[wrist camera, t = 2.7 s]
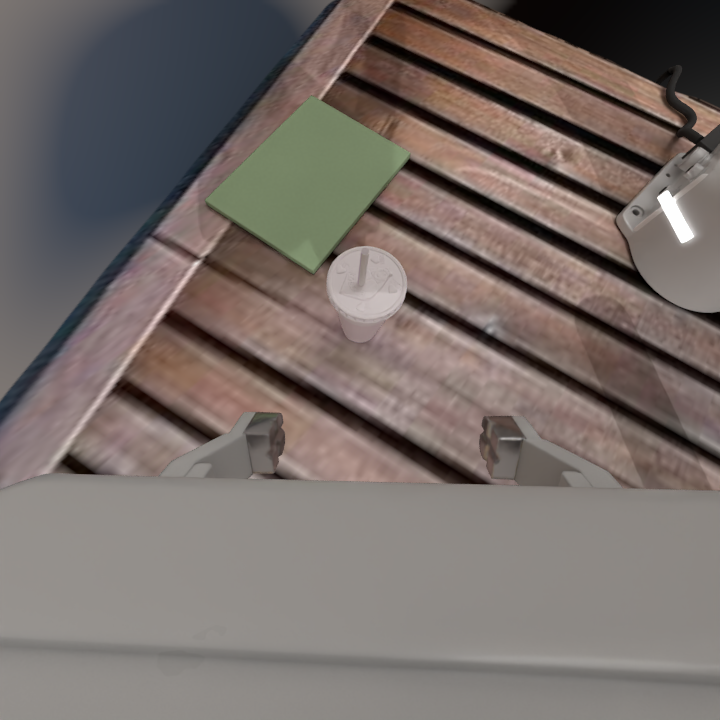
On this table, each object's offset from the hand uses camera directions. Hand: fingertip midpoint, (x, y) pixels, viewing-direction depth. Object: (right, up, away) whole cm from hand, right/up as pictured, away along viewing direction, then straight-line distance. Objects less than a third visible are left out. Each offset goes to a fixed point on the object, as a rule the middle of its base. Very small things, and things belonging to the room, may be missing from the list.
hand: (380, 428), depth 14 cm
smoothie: (-1, +6, +22) cm, 23 cm away
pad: (-6, +24, +26) cm, 36 cm away
